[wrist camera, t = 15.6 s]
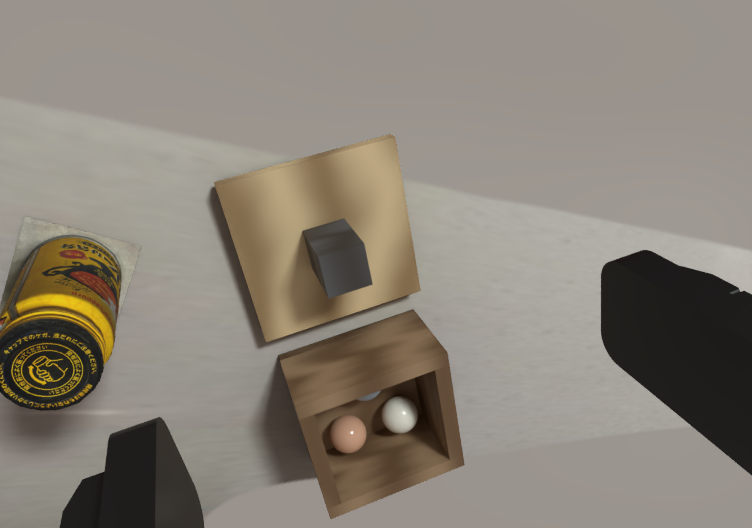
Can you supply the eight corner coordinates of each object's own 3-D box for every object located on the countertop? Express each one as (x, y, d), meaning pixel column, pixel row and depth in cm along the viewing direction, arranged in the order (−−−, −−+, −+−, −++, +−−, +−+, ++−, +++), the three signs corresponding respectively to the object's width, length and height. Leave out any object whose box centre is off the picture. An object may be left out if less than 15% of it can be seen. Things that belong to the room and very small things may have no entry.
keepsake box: (311, 459, 54) (330, 519, 48) (278, 355, 48) (294, 407, 42) (431, 413, 56) (464, 464, 50) (413, 309, 51) (447, 352, 45)
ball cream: (380, 422, 53) (391, 446, 51) (373, 396, 52) (385, 418, 49) (412, 410, 54) (426, 433, 51) (407, 383, 53) (420, 405, 50)
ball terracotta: (329, 441, 53) (339, 466, 50) (322, 415, 51) (331, 439, 48) (363, 429, 53) (374, 453, 50) (356, 402, 52) (367, 425, 49)
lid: (262, 330, 47) (277, 379, 41) (213, 178, 41) (221, 210, 35) (412, 281, 50) (445, 320, 44) (386, 131, 44) (421, 154, 38)
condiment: (141, 245, 41) (135, 330, 31) (108, 347, 43) (91, 459, 33) (24, 214, 38) (-27, 298, 28) (-5, 326, 40) (-63, 442, 30)
